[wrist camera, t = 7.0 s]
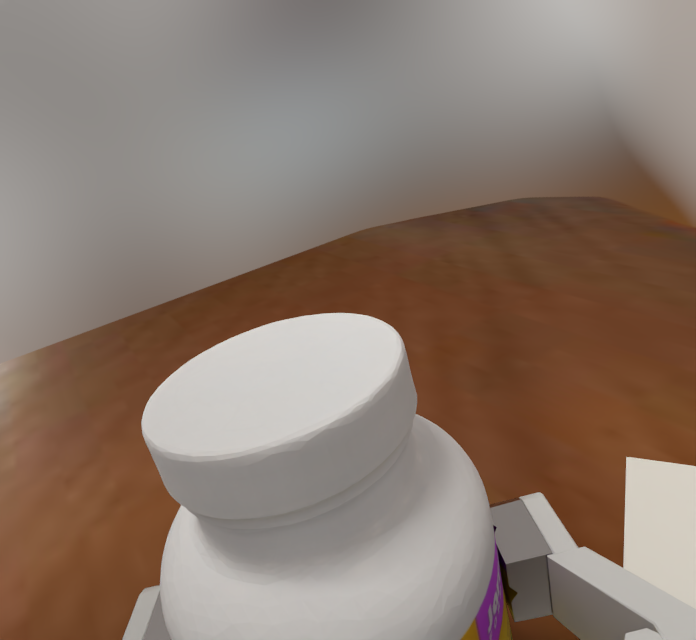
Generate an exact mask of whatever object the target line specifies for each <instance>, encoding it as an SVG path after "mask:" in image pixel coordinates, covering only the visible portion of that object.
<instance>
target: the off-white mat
mask: <svg viewBox="0 0 696 640" xmlns="http://www.w3.org/2000/svg"><path fill="white" fill-rule="evenodd" d="M623 568H624V569H626V570H627V571H629V572H631V573H633V574H634V575H636V576H638V577H640V578H641V579H643V580H645V581H647V582H649V583H650V584H652V585H654V586H656V587H657V588H659V589H661V590H663V591H665V592H666V593H668V594H670V595H672V596H673V597H675V598H677V599H679V600H680V601H682V602H684V603H686V604H688V605H689V606H691V607H693V608H695V609H696V466H690V465H683V464H675V463H668V462H661V461H653V460H646V459H639V458H631V457H626V492H625V529H624V567H623Z"/></svg>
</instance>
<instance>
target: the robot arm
mask: <svg viewBox="0 0 696 640" xmlns="http://www.w3.org/2000/svg"><path fill="white" fill-rule="evenodd" d="M489 506H490V511H491V516H492V522H493V528H494V534H495V540H496V546H497V553H498V559H499V566H500V572H501V577H502V583H503V589H504V594H505V600H506V603H507V605H508V608H509V610H510V612H511V615H512V617H513V619H514V622H518V621H523V620H528V619H533V618H538V617H543V616H547V615H552V614H553V617H555V618H556V619H557V620H558V621H559V622H560V623H562V624H563V625H564V626H565V627H566V628H568V629H569V630H570V631H571V632H572V633H574V634H575V635H576V636H577V637H578V638H580V639H581V640H696V609H695V608H693V607H691V606H689V605H688V604H686V603H684V602H682V601H680V600H679V599H677V598H675V597H673V596H672V595H670V594H668V593H666V592H665V591H663V590H661V589H659V588H657V587H656V586H654V585H652V584H650V583H649V582H647V581H645V580H643V579H641V578H640V577H638V576H636V575H634V574H633V573H631V572H629V571H627V570H626V569H624V568H622V567H620V566H618V565H617V564H615V563H613V562H611V561H610V560H608V559H606V558H604V557H603V556H601V555H599V554H597V553H595V552H594V551H592V550H590V549H588V548H587V547H581V548H578V546H577V545H576V543H575V542H574V540H573V539H572V537H571V536H570V534H569V533H568V531H567V530H566V528H565V527H564V525H563V524H562V522H561V521H560V519H559V518H558V516H557V515H556V513H555V512H554V510H553V509H552V507H551V506H550V504H549V503H548V501H547V500H546V498H545V497H544V495H543V494H541V493H540V492H538V493H534V494H530V495H526V496H522V497H519V498H514V499H510V500H506V501H502V502H498V503H494V504H490V505H489ZM122 640H171V637H170V635H169V632H168V630H167V627H166V623H165V619H164V616H163V611H162V604H161V597H160V585H158V586H153V587H149V588H145V589H144V590H143V591H142V592H141V593H140V595H139V597H138V600H137V602H136V605H135V608H134V610H133V613H132V615H131V618H130V621H129V623H128V626H127V628H126V631H125V634H124V636H123V639H122Z"/></svg>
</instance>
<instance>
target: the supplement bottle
mask: <svg viewBox="0 0 696 640" xmlns="http://www.w3.org/2000/svg"><path fill="white" fill-rule="evenodd" d="M416 406H417V394H416V390H415V386H414V383H413V380H412V376H411V372H410V367H409V363H408V358H407V354H406V349H405V346H404V343H403V340H402V338H401V337H400V335H399V334H398V333H397V332H396V330H395V329H394V328H393V327H391V326H390V325H388V324H387V323H385V322H383V321H381V320H379V319H376V318H373V317H370V316H366V315H359V314H351V313H325V314H317V315H308V316H301V317H297V318H292V319H286V320H282V321H278V322H274V323H271V324H268V325H264V326H261V327H258V328H255V329H253V330H250V331H247V332H245V333H242V334H240V335H237V336H235V337H232V338H230V339H228V340H226V341H224V342H222V343H220V344H218V345H216V346H214V347H212V348H210V349H208V350H207V351H205V352H203V353H201V354H199V355H198V356H196V357H195V358H193V359H191V360H190V361H189V362H187V363H186V364H184V365H183V366H181V367H180V368H179V369H178V370H177V371H175V372H174V373H173V374H172V375H170V376H169V377H168V378H167V379H166V380H165V381H164V382H163V383H162V384H161V385H160V386H159V387H158V388H157V390H156V391H155V392H154V394H153V395H152V396H151V398H150V399H149V401H148V403H147V405H146V407H145V410H144V413H143V417H142V422H141V423H142V434H143V437H144V439H145V442H146V444H147V447H148V449H149V451H150V453H151V455H152V458H153V460H154V462H155V464H156V466H157V469H158V471H159V473H160V476H161V478H162V480H163V483H164V485H165V487H166V489H167V490H168V492H169V494H170V495H171V496H172V497H173V498H174V499H175V500H176V501H177V502H178V503H180V504H181V507H180V509H179V511H178V513H177V515H176V517H175V519H174V521H173V524H172V526H171V529H170V531H169V534H168V537H167V541H166V544H165V548H164V553H163V558H162V563H161V578H160V597H161V604H162V611H163V616H164V619H165V623H166V627H167V630H168V632H169V635H170V637H171V640H513V639H512V633H511V629H510V623H509V618H508V612H507V606H506V600H505V594H504V589H503V583H502V577H501V572H500V566H499V559H498V553H497V546H496V540H495V534H494V528H493V522H492V516H491V511H490V506H489V502H488V498H487V494H486V491H485V488H484V485H483V482H482V480H481V478H480V476H479V474H478V471H477V469H476V468H475V466H474V465H473V463H472V461H471V460H470V458H469V457H468V455H467V454H466V453H465V452H464V450H463V449H462V448H461V446H460V445H459V444H458V443H457V442H456V441H455V440H454V439H453V438H452V437H451V436H450V435H449V434H447V433H446V432H445V431H444V430H442V429H441V428H440V427H438V426H437V425H436V424H434V423H432V422H431V421H429V420H427V419H425V418H423V417H421V416H419V415H417V414H415V413H416Z"/></svg>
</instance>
